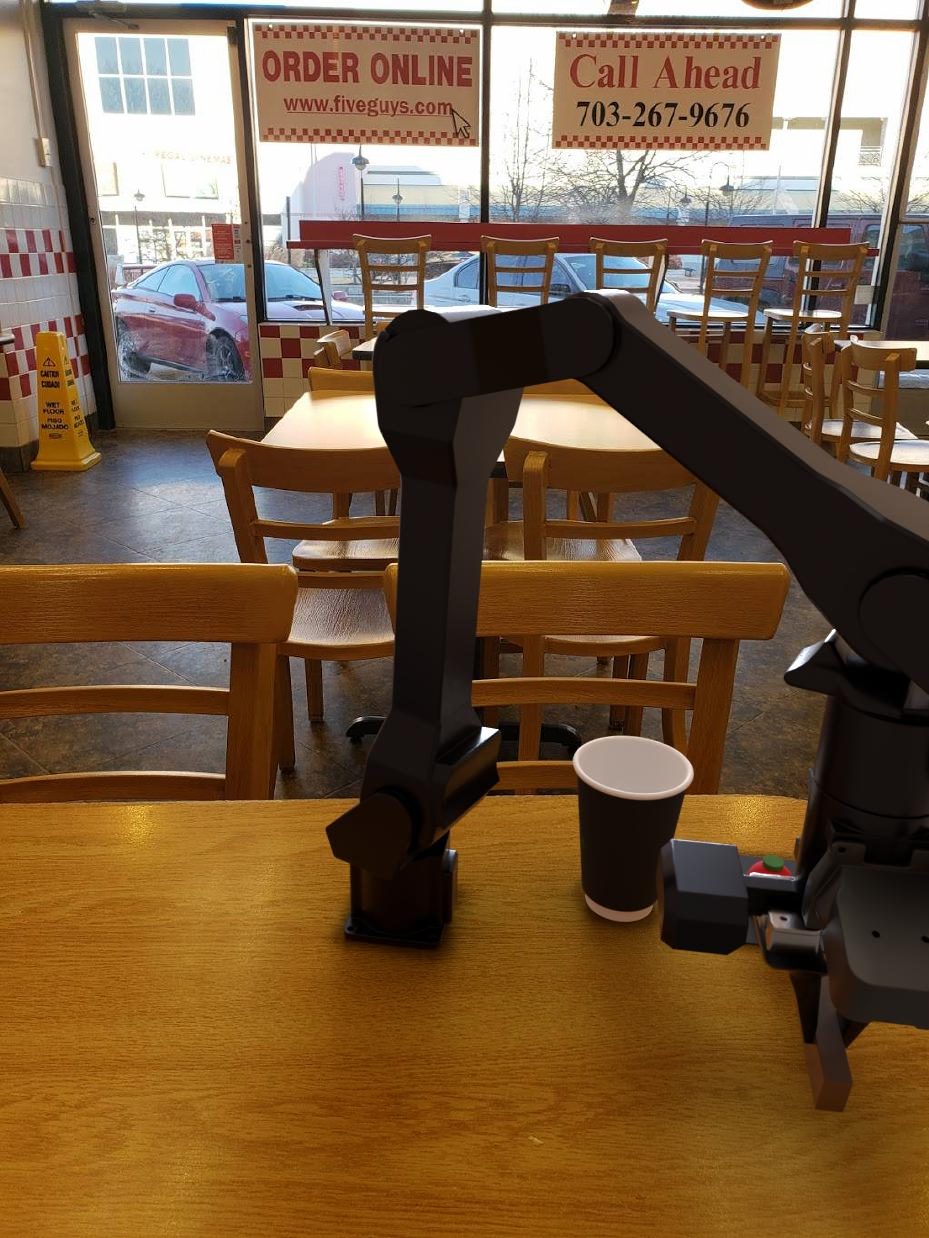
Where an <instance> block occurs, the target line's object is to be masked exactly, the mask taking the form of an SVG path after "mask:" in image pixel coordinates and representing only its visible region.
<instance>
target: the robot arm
mask: <svg viewBox="0 0 929 1238" xmlns="http://www.w3.org/2000/svg"><path fill="white" fill-rule="evenodd" d="M372 349H373V350H372V356H371V371H372V372H371V374H372V382H373V390H374V392H373V393H374V401H375V410H376V419H377V420H376V421H377V427H378V430H379V432H380V434H381V436H382V438H383V441H384V442H385V445H386V447H387V449H388V452H389V453H390V455H391V458H392V460H393V462H394V463H395V466H396V468H397V470H398V473H399V475H400V476H399V478H400V496H399V523H398V546H397V566H396V567H397V568H396V588H395V589H396V591H395V593H396V594H395V614H394V615H395V616H394V636H393V637H394V640H393V660H392V661H393V662H392V685H391V686H392V687H391V703H390V707H389V709H388V712H387V714H386V716H385V718H384V721H383V722H382V724H381V726H380V728H379V730H378V732H377V735H376V736H375V739H374V740H373V743H372V744H371V746H370V748H369V750H368V753H367V755H366V759H365V764H364V769H363V774H362V778H361V784H360V789H359V796H358V800H359V802H357V803H356V804H355V805H353V806H352V807H351V808H350V809H348V810H347V811H346V812H344V813H343V814H341V815H340V816H339V817H337V818H336V819H335V820H333V821H331V823H329V824H328V825H326V826H325V834H326V838H327V840H328V843H329V846H330V849H331V852H332V856H333V857H334V858H336V859H338V860H340V861H343V862H344V863H347V864H349V892H350V895H349V899H350V910H349V913H348V916H347V918H346V921H345V924H344V926H343V937H345V939H348V940H357V941H363V942H364V941H366V942H373V943H381V944H391V945H397V946H398V945H399V946H407V947H415V948H423V949H430V950H431V949H432V950H433V949H438V948H440V946H441V944H442V941H443V937H444V932H445V928H446V925H450V924H451V923H452V922H453V918H454V914H455V909H456V906H457V902H458V879H459V878H458V876H459V873H458V872H459V853H458V851H457V850H456V849H451V829H452V828H453V827H454V826H456V825H457V824H458V823H459V822H460V821H462V819H463V818H464V817H466V816H467V815H468V814H469V813H470V812H472V810H474V809H475V808H476V807H477V806H478V805H479V804H481V802H482V801H483V800H485V798H486V797H487V795H488V794H489V792H490V791H491V790H492V789H493V788H495V786H497V785H498V784H499V783H500V782H501V780H500V779H501V778H500V775H499V771H498V761H497V760H498V759H497V758H498V754H499V749H500V747H501V743H502V739H503V738H502V731H501V730H500V729H496V728H491V727H485V726H483V724H482V721H481V720H480V719H479V716H478V714H477V713H476V711H475V709H474V707H473V703H472V692H473V691H472V690H473V679H474V666H475V654H476V640H477V627H478V616H479V615H478V614H479V603H480V593H481V592H480V591H481V580H482V579H481V578H482V565H483V556H484V555H483V553H484V541H485V530H486V517H487V516H486V515H487V506H488V505H487V504H488V503H487V502H488V492H489V490H488V489H489V482H490V479H491V475H492V473H493V470H494V468H495V466H496V464H497V462H498V460H499V458H500V456H501V454H502V452H503V451H504V449H505V446H506V444H507V443H508V440H509V439H510V436H511V435H512V432H513V430H514V429H515V426H516V423H517V420H518V419H517V418H518V416H519V415H518V414H519V411H520V407H521V402H522V398H523V395H524V392H525V388H527V387H533V386H538V385H543V384H550V383H555V382H561V381H567V380H574V381H577V382H578V383H580V384H582V385H584V386H585V387H586V388H587V389H589V390H590V391H591V392H592V393H593V394H595V395H596V396H597V397H598V398H599V399H601V400H602V401H603V402H604V403H606V404H607V405H608V406H609V407H610V408H611V409H613V410H614V411H615V412H617V413H618V414H619V415H620V416H621V417H622V418H623V419H625V420H626V421H627V422H629V423H630V424H631V425H632V426H633V427H635V428H636V429H637V430H638V431H639V432H640V433H642V434H643V435H644V436H645V437H647V438H648V439H650V441H652V442H653V443H654V444H655V445H656V446H658V448H660V449H661V450H662V451H663V452H665V453H666V454H667V455H669V456H670V457H671V458H672V459H674V461H676V462H677V463H678V464H680V466H682V467H683V468H684V469H686V470H687V471H688V472H689V473H690V474H692V476H694V477H695V478H696V479H698V480H699V481H700V482H701V483H703V484H704V485H705V486H706V487H707V488H708V489H710V490H711V491H712V492H713V493H715V494H716V495H717V496H718V497H720V498H721V499H722V500H723V501H724V502H725V503H727V504H728V505H729V506H730V507H732V508H733V509H734V510H735V511H737V512H738V513H739V514H740V515H741V516H743V518H745V519H746V520H747V521H749V523H751V524H752V525H754V527H755V528H757V529H758V530H759V531H760V532H762V533H763V534H764V535H765V536H766V538H767V539H768V540H769V541H770V542H771V543H772V544H773V546H774V547H775V548H776V549H777V550H778V551H779V552H780V553H781V555H782V557H783V558H784V560H785V562H786V563H787V565H788V567H789V569H790V571H791V573H792V575H793V576H794V577H795V579H796V581H797V583H798V585H799V586H800V589H801V590H802V592H803V593H804V595H805V597H806V598H807V599H808V600H809V602H810V603H811V604H812V605H813V606H814V608H815V609H816V610H817V611H818V612H819V613H820V615H822V617H823V618H824V619H825V620H826V621H827V623H828V624H829V625H830V626H831V627H832V628H833V629H831V631H830V632H829V633H828V635H826V637H825V638H823V639H822V640H820V641H818V642H816V643H814V644H812V645H810V646H807V647H804V648H803V649H801V650H800V651H799V653H798V654H797V656H796V657H795V659H794V660H793V661H792V663H791V664H790V665H789V666H788V668H787V669H786V671H785V672H784V674H783V681H784V683H785V684H786V685H787V686H789V687H792V688H796V689H800V690H805V691H809V692H813V693H818V694H820V695H826V700H825V705H824V712H823V717H822V722H821V727H820V731H819V733H820V734H819V738H818V744H817V750H816V755H815V762H814V765H813V768H808V770H807V776H806V781H805V787H806V790H807V793H808V798H807V804H806V809H805V814H804V820H803V824H802V825H803V826H802V831H801V836H796V837H795V842H794V848H793V857H794V861H796V868H795V874H794V877H789V876H779V875H770V874H760V873H751V874H750V875H743V871H742V866H741V862H740V857H739V855H740V852H739V849H738V845H737V844H727V843H716V842H707V841H695V840H689V839H688V840H686V839H677V838H674V839H671V840H670V841H669V842H668V843H667V844H666V845H665V846H663V847H662V848H661V849H660V851H659V853H658V861H657V870H656V888H657V901H656V902H657V911H658V912H657V913H658V925H659V937H660V939H659V940H660V941H661V942H662V943H664V944H665V945H667V946H668V947H669V948H670V949H672V950H676V951H684V952H695V953H703V954H711V955H720V956H729V955H730V954H732V953H733V952H735V951H737V950H739V949H740V948H742V947H744V946H745V945H747V943H746V940H747V934H748V927H749V915H752V916H753V918H754V923H755V927H756V932H757V936H758V941H759V945H758V946H759V950H760V955H761V958H762V961H763V962H764V964H765V965H766V966H767V967H768V968H770V969H772V970H774V971H781V972H786V973H787V975H788V977H789V980H790V984H791V989H793V990H792V995H793V994H794V995H793V1000H794V999H795V1001H794V1005H795V1004H796V1006H795V1010H796V1009H797V1011H796V1015H797V1014H798V1016H797V1020H798V1019H799V1022H798V1025H799V1024H800V1027H799V1030H800V1029H801V1032H800V1034H801V1033H802V1037H803V1041H804V1043H805V1044H812V1042H813V1039H814V1036H815V1033H816V1030H817V1025H818V1014H819V1003H820V991H821V980H822V977H825V976H827V975H828V977H829V992H830V998H831V1001H832V1003H833V1005H834V1007H835V1008H836V1012H837V1016H838V1021H839V1025H840V1029H841V1034H842V1037H843V1041H844V1045H845V1050H847V1049H848V1048H849V1047H850V1046H851V1044H853V1042H855V1040H856V1039H857V1038H858V1037H859V1036H860V1035H861V1033H862V1032H864V1030H865V1029H866V1028H867V1027H868V1026H869V1025H870V1023H873V1022H875V1023H883V1024H893V1025H902V1026H910V1027H914V1028H916V1029H917V1030H923V1031H929V501H928V500H926V499H924V498H922V497H920V496H919V495H916V494H914V493H913V492H911V491H909V490H908V489H905V488H903V487H899V486H897V485H894V484H892V483H889V482H886V481H884V480H881V479H879V478H876V477H873V476H871V475H868V474H865V473H863V472H861V471H858V470H857V469H854V468H853V467H851V466H849V465H847V464H845V463H843V462H842V461H840V460H838V459H836V458H834V457H833V456H832V455H830V454H829V453H828V452H827V451H826V450H824V449H823V448H822V447H820V446H819V445H818V444H816V443H815V442H814V441H813V440H812V439H810V438H809V437H808V436H806V435H805V434H804V433H803V432H801V431H800V430H798V428H796V427H795V426H793V425H792V424H791V423H790V422H789V421H787V420H786V419H785V418H784V417H782V416H781V415H780V414H778V413H777V411H775V410H773V409H772V408H771V407H769V406H768V405H767V404H766V403H764V402H763V401H762V400H761V399H759V398H758V397H757V396H755V395H754V394H753V393H752V392H751V391H749V390H748V389H747V388H745V387H744V386H743V385H741V384H740V383H739V382H738V381H736V380H735V379H734V378H732V377H731V376H730V375H729V374H728V373H726V372H725V371H724V370H722V368H720V367H718V366H717V365H716V364H715V363H714V362H713V361H711V360H710V359H708V358H707V357H706V356H705V355H703V353H701V352H699V351H698V350H697V349H696V348H695V347H693V346H692V345H690V344H689V343H688V342H687V341H686V340H684V339H683V338H682V337H680V336H679V335H678V334H676V333H675V331H673V330H672V329H670V328H669V327H668V326H667V325H665V324H664V323H663V322H661V321H660V320H659V319H658V318H656V317H655V316H654V315H653V314H652V313H651V311H650V310H649V309H648V307H647V306H646V304H645V303H644V302H643V301H642V299H640V297H638V296H637V295H635V294H633V293H631V292H629V291H627V290H623V289H622V290H621V289H597V290H596V289H595V290H580V291H578V292H575V293H571V294H569V295H567V296H565V297H564V298H563V299H560V300H556V301H552V302H547V303H543V304H539V305H533V306H527V307H522V308H517V309H512V310H507V311H502V310H501V309H499V308H495V307H492V306H489V305H486V304H478V305H463V306H447V307H432V308H417V309H408V310H406V311H404V312H402V313H400V314H398V315H396V316H395V317H394V318H393V319H392V320H391V321H390V322H389V323H388V324H387V325H386V327H385V328H384V329H383V330H379V332H378V334H377V337H376V339H375V342H374V345H373V348H372ZM821 935H822V939H823V946H824V952H823V951H822V947H821V944H820V940H821Z"/></svg>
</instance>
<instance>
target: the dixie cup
mask: <svg viewBox="0 0 929 1238" xmlns="http://www.w3.org/2000/svg"><path fill="white" fill-rule="evenodd" d="M572 765H573V769H574V771H575V773H576V776H577V777H576V780H577V781H576V782H577V783H576V785H577V805H578V827H579V829H578V831H579V850H580V851H579V852H580V853H579V855H580V874H581V886H582V890H583V892H584V897H585V902H586V904H587V906H588V907H589V908H590V910H591V911H592V912H594V913H595V914H597V915H598V916H600V917H602V918H604V919H607V920H609V921H614V922H621V923H629V922H636V921H640V920H643V919H644V918H646V917H647V916H649V914H651V912H652V910H653V908H654V904H655V903H657V902H658V901H657V888H656V870H657V861H658V853H659V851H660V849H661V848H662V847H663V846H665V845H666V844H667V843H668V842H669V841H670V840H671V839H675V835H676V830H677V828H678V823H679V820H680V816H681V812H682V809H683V808H682V807H683V803H684V800H685V796H686V791H687V788H689V787H690V786H691V785H692V782H693V781H694V773H695V772H694V767H693V765H692V763H691V762H690V761H689V759H688V758H687V757H686V756H685V755H684V754H683V753H681V752H680V751H678V750H677V749H676V748H674V747H672V746H670V745H667V744H665V743H663V742H660V741H656V740H654V739H651V738H646V737H640V736H633V735H632V736H631V735H612V736H605V737H604V736H603V737H599V738H595V739H593V740H590V741H588V742H586V743H584V744H582V745H581V746H580V747H578V749H577V750H576V751H575V753H574V755H573V758H572Z"/></svg>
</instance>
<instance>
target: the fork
mask: <svg viewBox="0 0 929 1238" xmlns="http://www.w3.org/2000/svg"><path fill="white" fill-rule="evenodd" d="M821 937H822V935H821ZM791 989H792V988H791ZM792 991H793V989H792ZM792 996H794V994H793V993H792ZM793 1000H794V1002H795V999H794V998H793ZM794 1005H795V1007H796V1004H795V1003H794ZM795 1010H796V1012H797V1009H796V1008H795ZM796 1017H798V1014H797V1013H796ZM797 1021H798V1027H799V1032H800V1036H801V1037H800V1038H801V1043H802V1047H803V1054H804V1059H805V1063H806V1068H807V1074H808V1080H809V1085H810V1091H811V1096H812V1100H813V1101H812V1102H813V1105H814V1109H815V1110H817V1111H825V1112H833V1113H838V1114H839V1113H840V1114H843V1113H844V1111H845V1109H846V1106H847V1102H848V1100H849V1097H850V1094H851V1091H852V1088H853V1085H854V1080H853V1076H852V1072H851V1067H850V1064H849V1059H848V1054H847V1049H845V1045H844V1041H843V1037H842V1034H841V1029H840V1025H839V1021H838V1016H837V1012H836V1008H835V1007H834V1005H833V1003H832V1001H831V998H830V992H829V977H828V975H827V976H825V977H822V980H821V991H820V1003H819V1014H818V1025H817V1030H816V1033H815V1036H814V1039H813V1042H812V1044H805V1043H804V1041H803V1037H802V1033H801V1029H800V1024H799V1019H798V1018H797Z"/></svg>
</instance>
